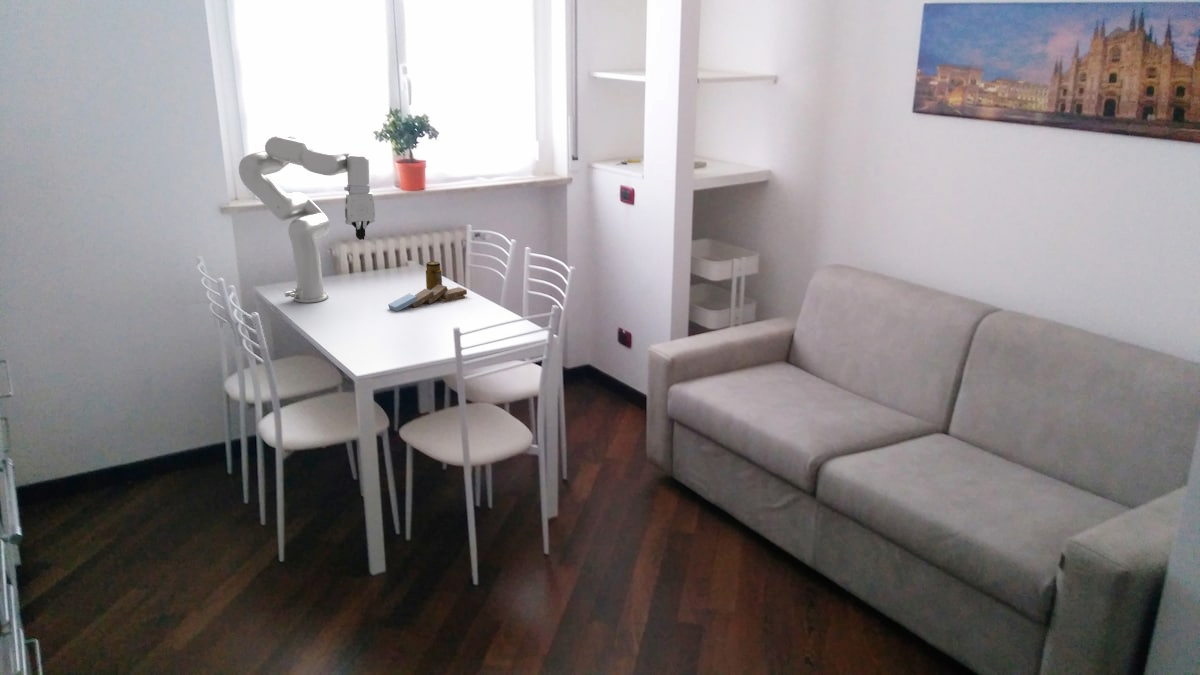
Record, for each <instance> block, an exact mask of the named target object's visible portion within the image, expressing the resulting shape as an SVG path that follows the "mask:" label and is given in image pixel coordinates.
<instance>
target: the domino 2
mask: <svg viewBox="0 0 1200 675" xmlns="http://www.w3.org/2000/svg"><path fill="white" fill-rule="evenodd" d="M413 295H414V296H416V297H417V300H418V301H416V302H414V303H412V304H410V305H409V307H412V308H417V307H418V306H420V305H421V304H423V303H425V301H426V300H428V299H429V298H431V297H433V296H434V293H433V291H431V290H428V289H427V288H423V290H421V291H418V292H417V293H416V294H413Z"/></svg>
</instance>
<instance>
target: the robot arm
mask: <svg viewBox="0 0 1200 675" xmlns="http://www.w3.org/2000/svg"><path fill="white" fill-rule="evenodd" d="M264 150H265V151H260V152H254V153H250V154H248V155H246V156H244V157H243V158H242V159H241V160H240V161H239V163H238V164H239V165H238V173H239V177H240V179H241V182H242V184H243V185H244V186H245V187H246V188H247V189H248V190H249V191H250V192H251V193H252V194H253V195H255V196H256V197H257V198H258V199H259V200H260V202H261V203H262V204H263V205H265V207H266V208H267V210H269V211H270V213H272V214H273V215H274V216H275V217H276V219H278V220H280V221H281V222H288V221H291V222H290V223H289V225H288V228H287V231H288V232H287V233H288V237H289V240H290V243H291V246H292V247H291V248H292V254H293V260H294V261H293V263H294V270H295V280H296V287H294V289H293V290H290V291H284V296H285V298H287V297H290V298H293V300H294V301H296V302H297V303H298V302H299V303H302V304H303V303H306V304H309V303H318V302H323V301H325V300H327V299H328V298H329V293H328V292H326V291H324V284H323V273H322V262H321V261H322V260H321V254H320V248H319V246H318V244H317V242H316V240H317V239H320V238H323V237H325V236H326V235H328V234H329V232H330V230H331V222H330V219H329V218H328V216H327V215H326V214H325V213H324V212H323V211H322V210H321V209H320V207H319V206H318V205H316V203H314V201H313V200H312V199H311V198H310V197H309V196H308V195H306V194H305V193H302V192H296V191H294V192H289V193H287V192H285V191H284V190H283V189H282V188H281V187H280V186H279V185H278V184H277V183H276V182H275V181H273V180H271V179H269V178H268V177H266V175H267V176H268V175H271V174H275V173H278V172H279V171H280V172H281V170H282V169H283V168H285V167H287V166H288V165H289V164H292V165H297V166H302V167H303V168H304V169H305V170H306V171H308V172H312V173H314V174H318V175H322V176H328V177H329V176H335V175H339V174H343V173H346V174H347V184H346V186H345V187H344V188H343V189H344V191H345V192H346V194H345V201H344V217H345V224H346V225H350V226H353V227H354V228H355V237H356V239H358V240H359V241H361V240H363V241H364V240H365V237H366V229H367V227H368V225H369V224H372V223H374V222H375V221H376V220H375V219H376V208H375V201H374V200H375V199H374V196H373V192H371V189H370V187H371V186H370V166H369V165H370V164H369V163H370V161H369V156H368V155H366V154H364V153H363V154H362V153H353V152H350V151H346V150H341V151H334V152H331V153H328V154H327V153H323V152H322V153H321V152H316V151H314V149H313V146H312V145H311V144H310V143H308V142H305V141H301V140H300V138H299V137H297V135H294V134H290V133H287V134H280V135H276V136H272V137H271V138H269V139H268V140H267V141H266V142H265V145H264Z"/></svg>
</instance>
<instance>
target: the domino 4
mask: <svg viewBox="0 0 1200 675" xmlns="http://www.w3.org/2000/svg"><path fill="white" fill-rule="evenodd" d="M467 294H468V291H467V289H466V288H462V287H460V286H457V287H455V288H450V289H449V288H448V291H446V292H445V293H444V294H443V295H441V296H440V297H442V298H445V299H449V298H453V297H457V296H462V295H464V296H466V295H467Z"/></svg>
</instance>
